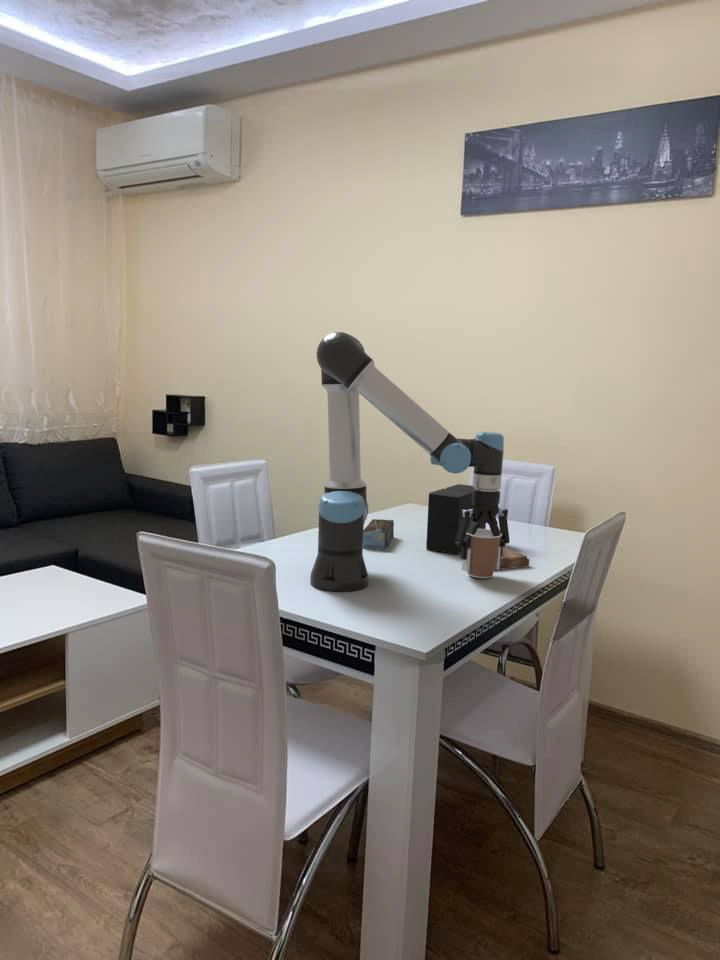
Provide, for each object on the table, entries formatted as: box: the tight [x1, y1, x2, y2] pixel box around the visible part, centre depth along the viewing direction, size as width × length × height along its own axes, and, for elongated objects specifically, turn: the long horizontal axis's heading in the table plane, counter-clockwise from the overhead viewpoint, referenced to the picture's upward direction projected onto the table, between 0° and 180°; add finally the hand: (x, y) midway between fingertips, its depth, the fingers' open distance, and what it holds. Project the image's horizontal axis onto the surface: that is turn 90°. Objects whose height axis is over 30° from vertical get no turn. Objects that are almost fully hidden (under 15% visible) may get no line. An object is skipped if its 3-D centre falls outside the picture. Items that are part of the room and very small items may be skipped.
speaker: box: [425, 483, 487, 555], centre depth 228 cm, size 25×11×19 cm, turn 150°
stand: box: [499, 547, 530, 570], centre depth 208 cm, size 14×12×3 cm
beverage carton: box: [363, 518, 395, 551], centre depth 228 cm, size 8×19×7 cm, turn 169°
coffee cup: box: [466, 528, 502, 579], centre depth 192 cm, size 10×10×12 cm
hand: (480, 569), depth 192 cm, fingers closed on coffee cup, 9 cm apart
